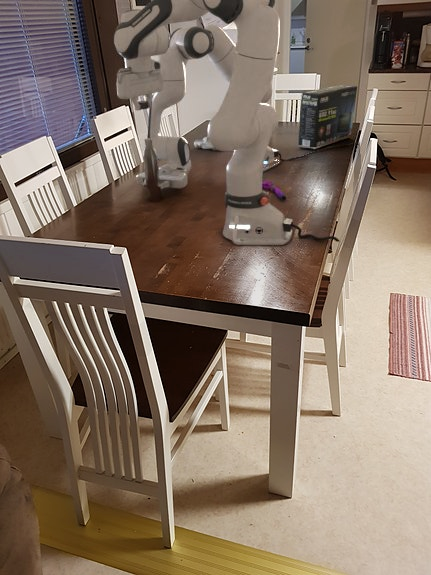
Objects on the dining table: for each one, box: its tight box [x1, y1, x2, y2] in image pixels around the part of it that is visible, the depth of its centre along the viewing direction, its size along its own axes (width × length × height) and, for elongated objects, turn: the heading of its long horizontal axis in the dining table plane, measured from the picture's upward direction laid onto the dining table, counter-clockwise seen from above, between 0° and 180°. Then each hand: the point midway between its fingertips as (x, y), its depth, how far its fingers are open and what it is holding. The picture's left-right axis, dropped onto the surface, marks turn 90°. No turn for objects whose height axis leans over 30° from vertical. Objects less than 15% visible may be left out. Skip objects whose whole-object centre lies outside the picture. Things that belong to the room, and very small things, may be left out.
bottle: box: [142, 137, 162, 202], centre depth 174 cm, size 5×5×23 cm
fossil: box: [193, 134, 218, 152], centre depth 245 cm, size 18×11×15 cm
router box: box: [297, 84, 358, 151], centre depth 238 cm, size 36×11×27 cm, turn 134°
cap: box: [138, 100, 149, 110], centre depth 162 cm, size 4×4×2 cm
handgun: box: [262, 180, 287, 202], centre depth 181 cm, size 21×8×2 cm, turn 11°
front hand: (143, 108), depth 162 cm, fingers closed on cap, 4 cm apart
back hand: (152, 186), depth 177 cm, fingers closed on bottle, 5 cm apart
